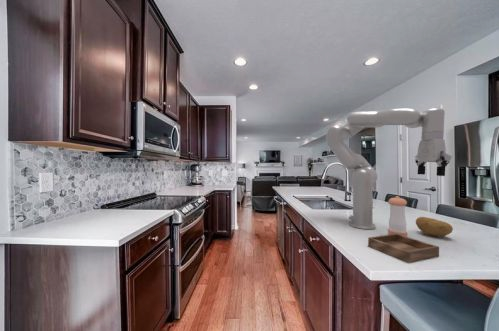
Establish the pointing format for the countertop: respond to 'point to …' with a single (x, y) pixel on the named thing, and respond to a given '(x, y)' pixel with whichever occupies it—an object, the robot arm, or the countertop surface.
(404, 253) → the walnut tray
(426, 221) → the potato
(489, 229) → the countertop surface
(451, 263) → the countertop surface
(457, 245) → the countertop surface
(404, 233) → the pepper shaker
